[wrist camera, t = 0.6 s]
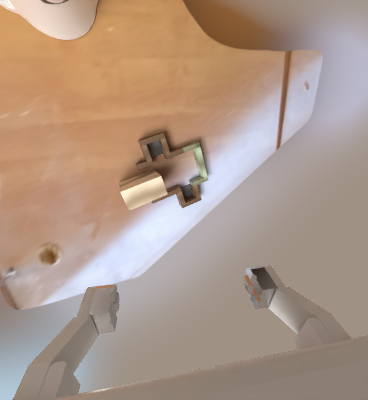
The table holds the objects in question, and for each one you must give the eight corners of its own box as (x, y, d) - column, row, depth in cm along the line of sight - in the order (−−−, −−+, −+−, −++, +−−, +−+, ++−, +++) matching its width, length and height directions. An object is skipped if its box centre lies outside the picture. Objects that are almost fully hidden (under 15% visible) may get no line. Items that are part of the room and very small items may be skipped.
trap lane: (127, 144, 46) (128, 145, 44) (190, 123, 50) (194, 122, 47) (156, 214, 56) (159, 218, 53) (207, 192, 59) (212, 195, 57)
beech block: (119, 182, 49) (120, 192, 41) (153, 169, 51) (161, 175, 43) (126, 198, 51) (129, 210, 43) (159, 185, 53) (167, 194, 45)
